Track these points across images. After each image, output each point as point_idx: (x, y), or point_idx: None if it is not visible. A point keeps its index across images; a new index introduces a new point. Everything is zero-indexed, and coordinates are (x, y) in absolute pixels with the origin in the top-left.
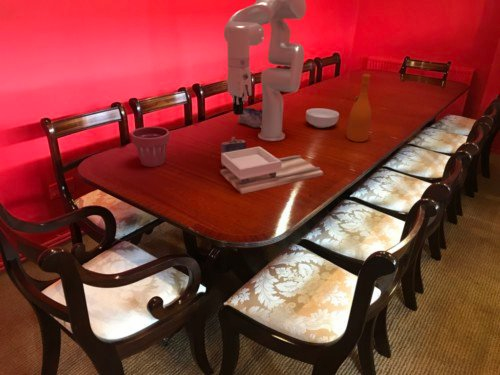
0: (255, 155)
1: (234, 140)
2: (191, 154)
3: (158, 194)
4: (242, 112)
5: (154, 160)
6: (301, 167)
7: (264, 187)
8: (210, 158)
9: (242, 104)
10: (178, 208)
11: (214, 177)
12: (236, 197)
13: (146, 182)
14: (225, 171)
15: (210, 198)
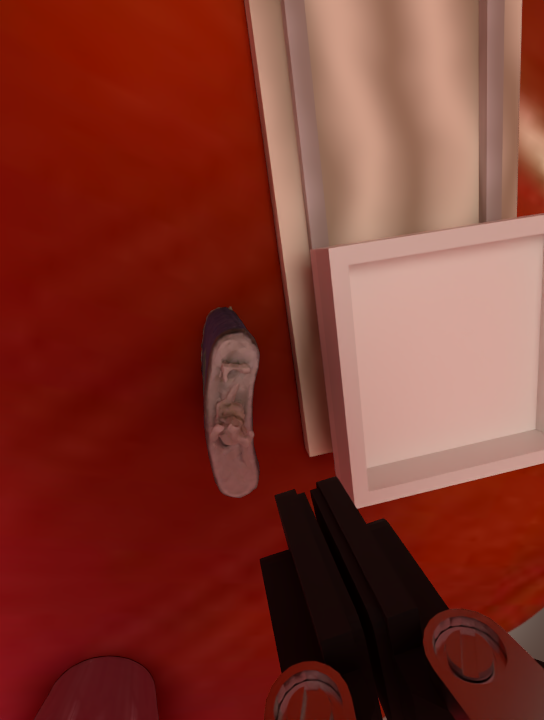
0: (351, 292)
1: (241, 421)
2: (30, 549)
3: None
4: (346, 498)
5: (158, 717)
6: (424, 17)
7: None
8: (108, 466)
9: (460, 624)
10: (495, 599)
11: (330, 477)
12: None
13: None
14: None
15: (480, 510)
